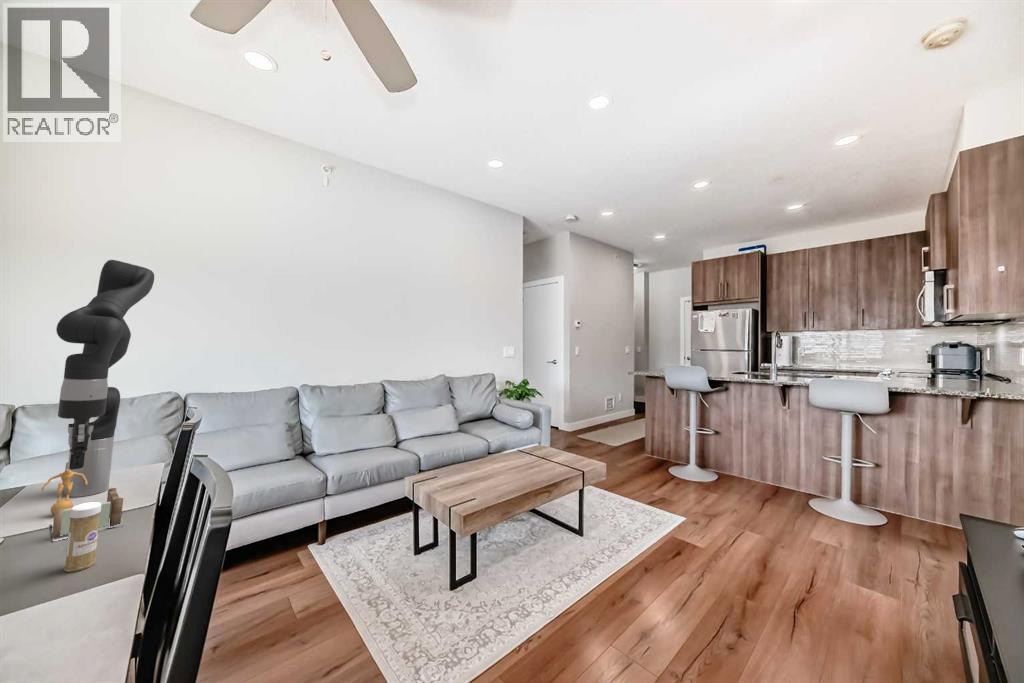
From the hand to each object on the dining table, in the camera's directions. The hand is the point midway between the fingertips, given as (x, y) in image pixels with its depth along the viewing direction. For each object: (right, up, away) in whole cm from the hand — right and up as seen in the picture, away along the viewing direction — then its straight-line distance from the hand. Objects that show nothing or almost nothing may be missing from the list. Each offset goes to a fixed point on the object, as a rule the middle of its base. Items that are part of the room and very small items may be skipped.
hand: (76, 468), depth 89 cm
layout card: (-7, -18, +9) cm, 21 cm away
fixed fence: (-5, -18, +12) cm, 23 cm away
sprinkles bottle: (+10, -19, -8) cm, 23 cm away
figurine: (-20, -18, +14) cm, 30 cm away
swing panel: (-5, -18, +5) cm, 19 cm away
